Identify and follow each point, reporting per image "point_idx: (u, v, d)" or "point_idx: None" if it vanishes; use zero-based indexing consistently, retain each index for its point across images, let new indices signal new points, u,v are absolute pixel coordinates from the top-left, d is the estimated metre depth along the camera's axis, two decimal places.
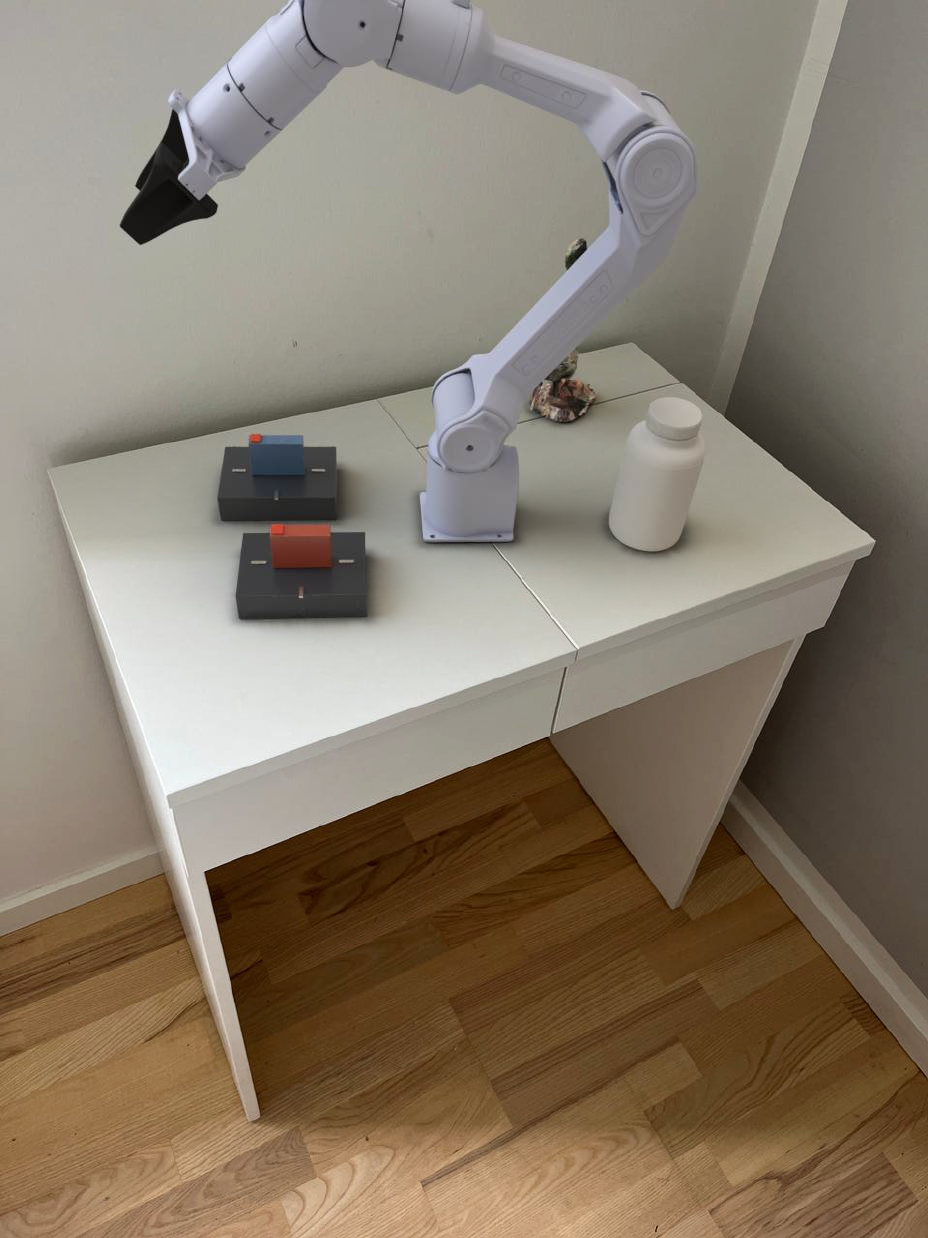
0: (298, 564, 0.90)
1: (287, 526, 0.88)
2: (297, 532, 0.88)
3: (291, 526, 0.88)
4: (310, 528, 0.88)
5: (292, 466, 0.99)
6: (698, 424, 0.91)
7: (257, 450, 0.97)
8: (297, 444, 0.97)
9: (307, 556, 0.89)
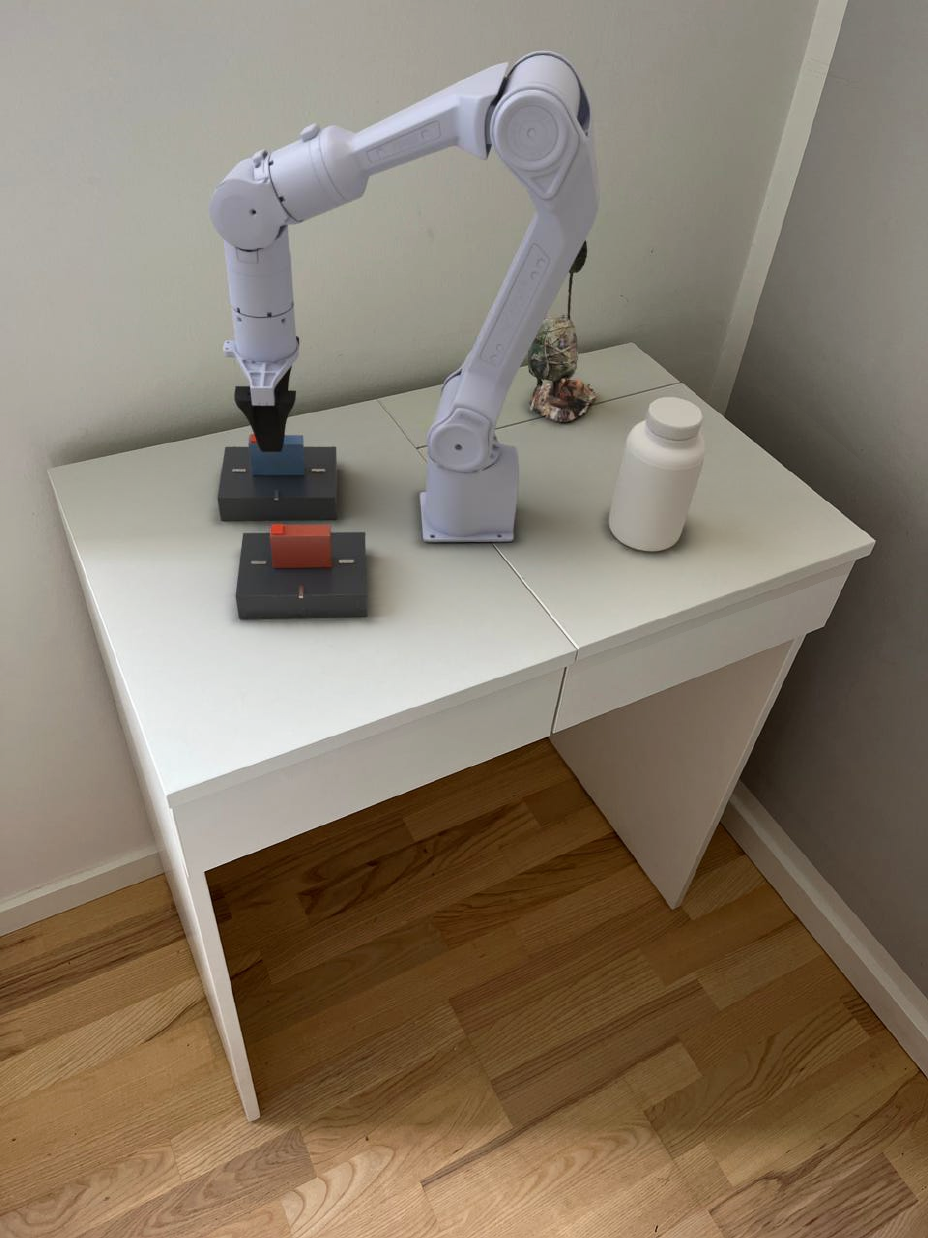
0: (298, 564, 0.90)
1: (287, 526, 0.88)
2: (297, 532, 0.88)
3: (291, 526, 0.88)
4: (310, 528, 0.88)
5: (292, 466, 0.99)
6: (698, 424, 0.91)
7: (257, 450, 0.97)
8: (297, 444, 0.97)
9: (307, 556, 0.89)
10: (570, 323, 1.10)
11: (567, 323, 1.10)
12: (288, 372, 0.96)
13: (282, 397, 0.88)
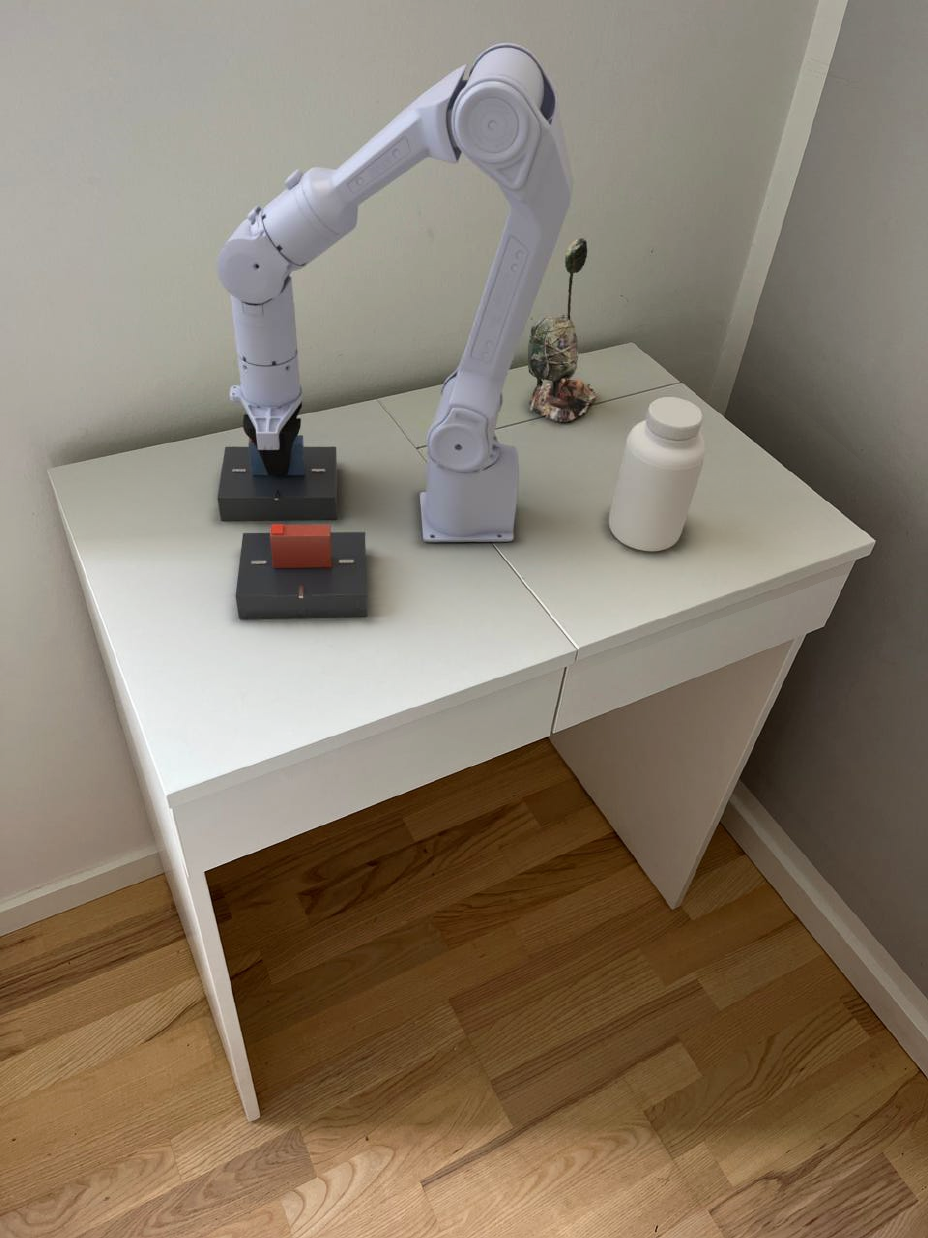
0: (298, 564, 0.90)
1: (287, 526, 0.88)
2: (297, 532, 0.88)
3: (291, 526, 0.88)
4: (310, 528, 0.88)
5: (292, 466, 0.99)
6: (698, 424, 0.91)
7: (257, 450, 0.97)
8: (297, 444, 0.97)
9: (307, 556, 0.89)
10: (570, 323, 1.10)
11: (567, 323, 1.10)
12: None
13: (288, 425, 0.94)
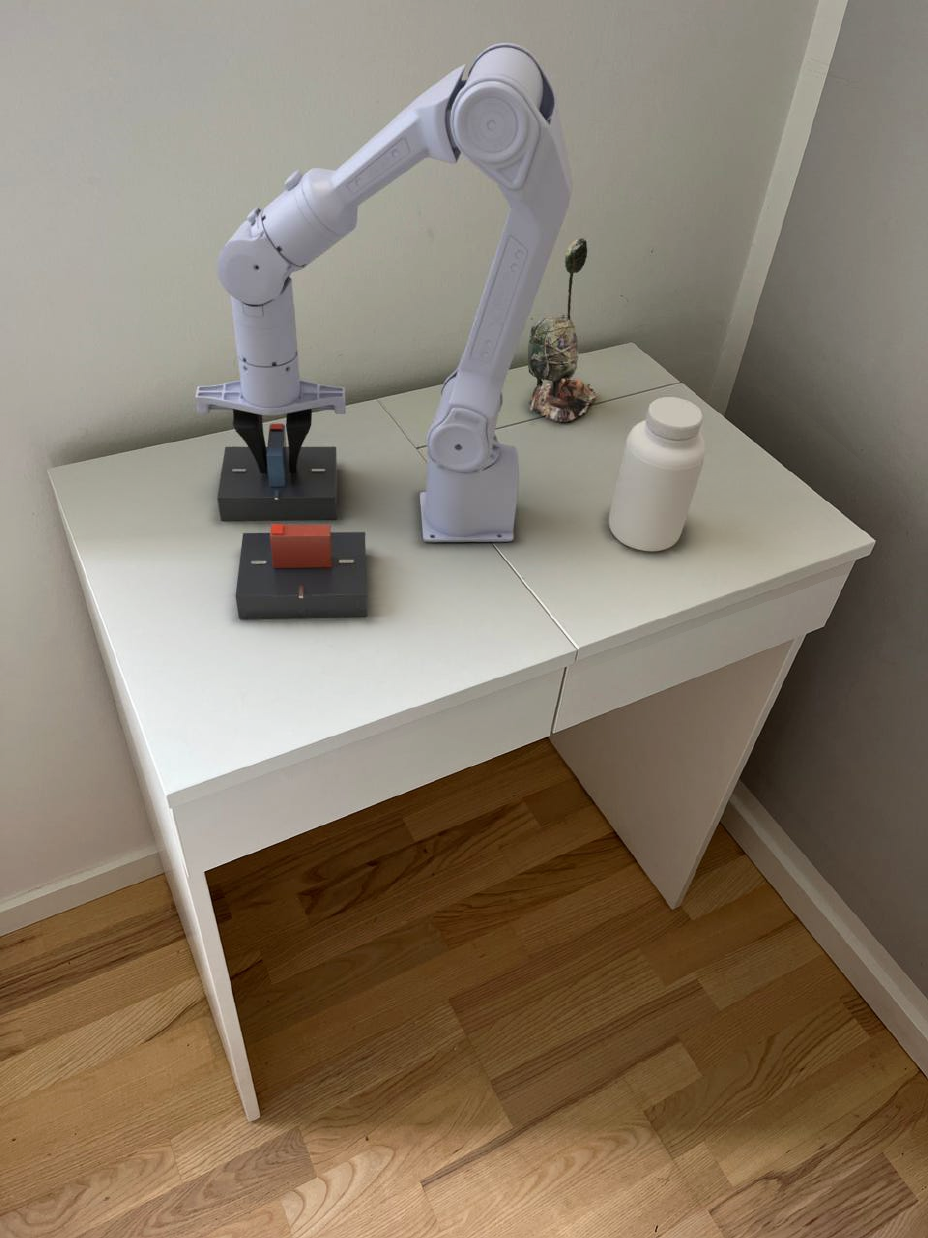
0: (298, 564, 0.90)
1: (287, 526, 0.88)
2: (297, 532, 0.88)
3: (291, 526, 0.88)
4: (310, 528, 0.88)
5: None
6: (698, 424, 0.91)
7: None
8: None
9: (307, 556, 0.89)
10: (570, 323, 1.10)
11: (567, 323, 1.10)
12: None
13: (243, 420, 0.94)
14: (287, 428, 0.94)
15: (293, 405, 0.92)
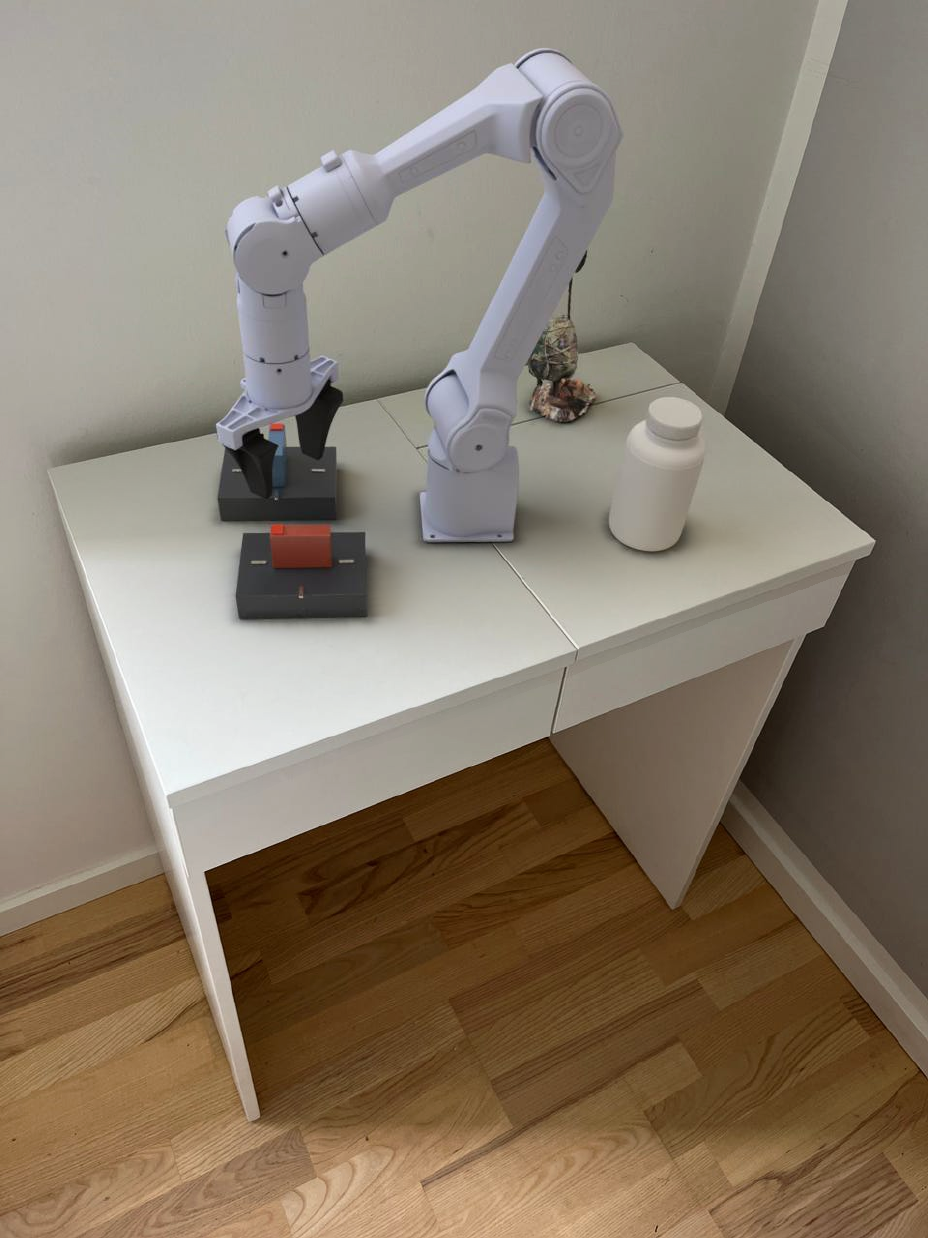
0: (298, 564, 0.90)
1: (287, 526, 0.88)
2: (297, 532, 0.88)
3: (291, 526, 0.88)
4: (310, 528, 0.88)
5: None
6: (698, 424, 0.91)
7: None
8: None
9: (307, 556, 0.89)
10: (570, 323, 1.10)
11: (567, 323, 1.10)
12: (322, 426, 0.90)
13: (257, 446, 0.83)
14: (332, 406, 0.88)
15: (316, 389, 0.86)
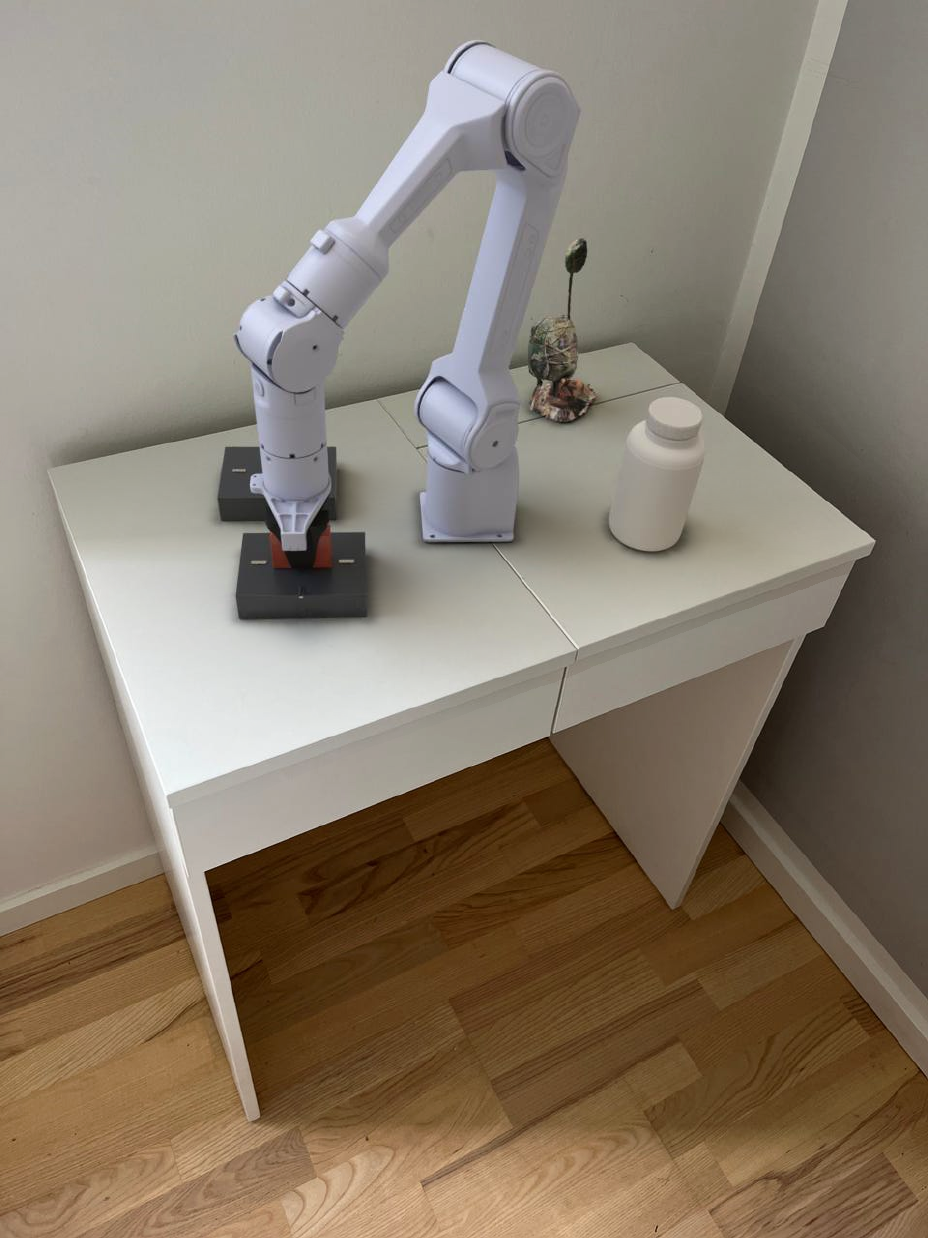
0: None
1: None
2: None
3: None
4: None
5: None
6: (698, 424, 0.91)
7: None
8: None
9: None
10: (570, 323, 1.10)
11: (567, 323, 1.10)
12: None
13: (315, 518, 0.84)
14: None
15: None
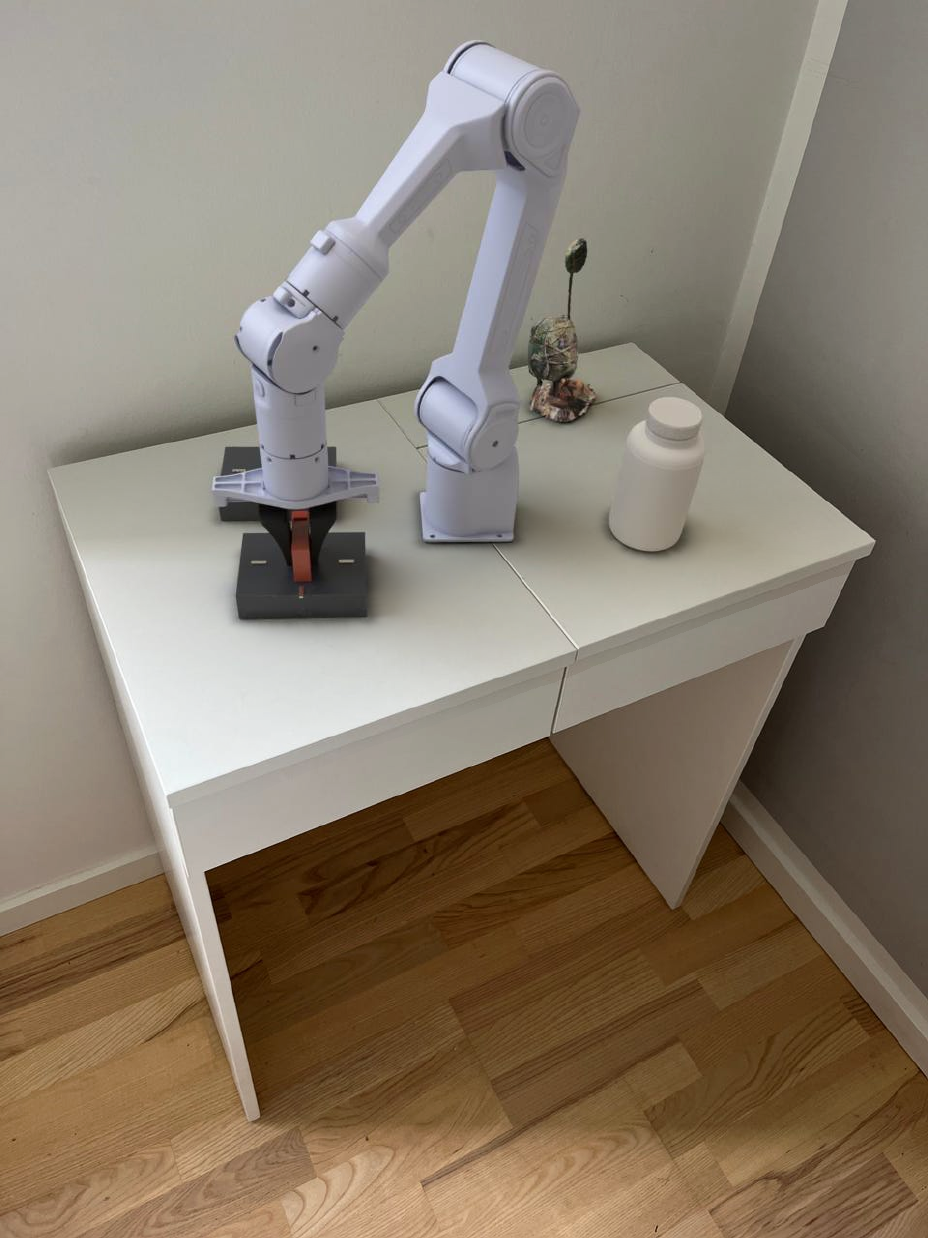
0: None
1: (305, 521, 0.89)
2: (297, 528, 0.88)
3: (306, 524, 0.89)
4: (303, 536, 0.87)
5: None
6: (698, 424, 0.91)
7: None
8: None
9: None
10: (570, 323, 1.10)
11: (567, 323, 1.10)
12: (310, 536, 0.86)
13: (269, 513, 0.84)
14: (310, 521, 0.84)
15: (322, 497, 0.83)
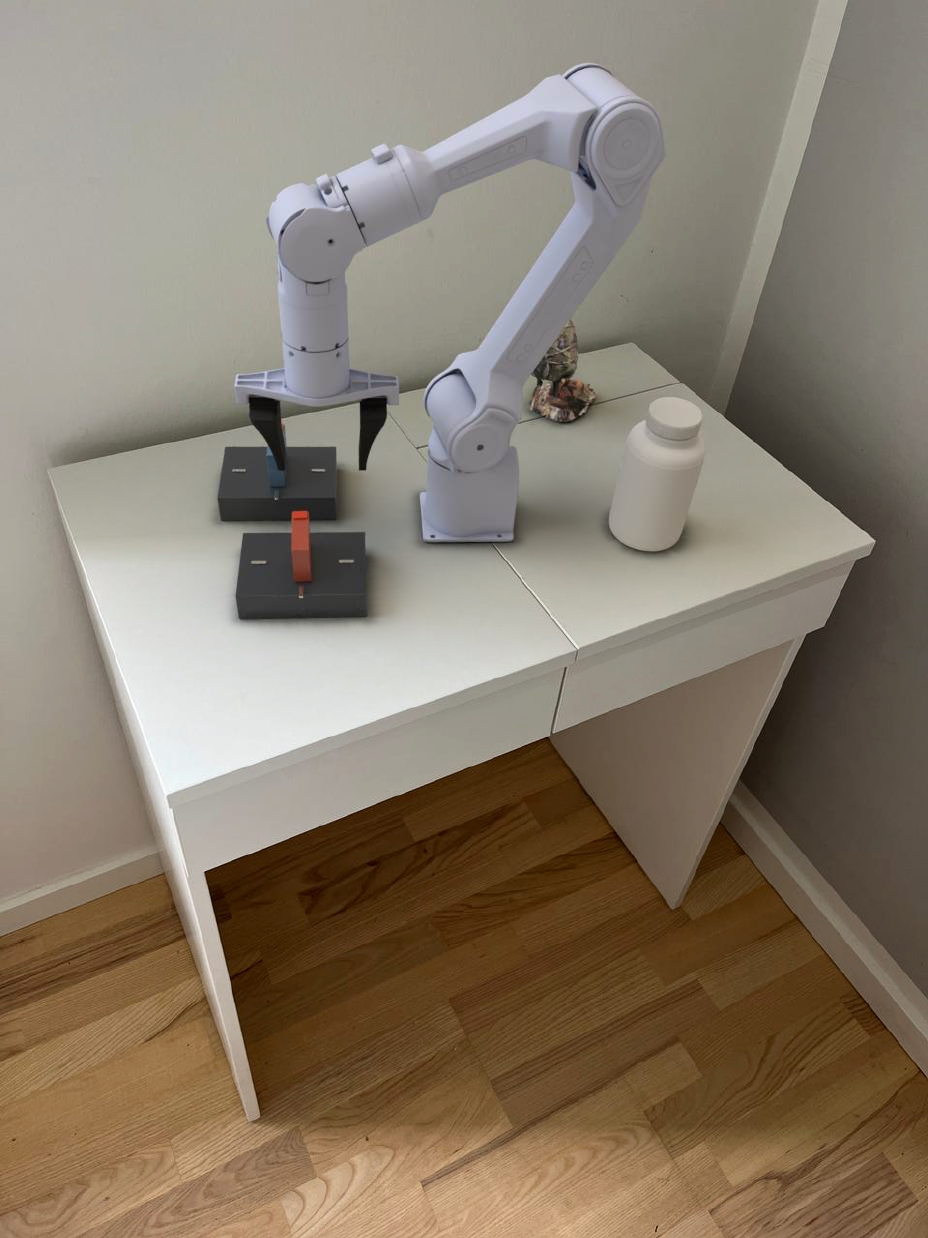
0: None
1: (305, 521, 0.89)
2: (297, 528, 0.88)
3: (306, 524, 0.89)
4: (303, 536, 0.87)
5: None
6: (698, 424, 0.91)
7: None
8: None
9: None
10: (570, 323, 1.10)
11: (567, 323, 1.10)
12: (360, 438, 0.88)
13: (260, 412, 0.85)
14: (361, 421, 0.85)
15: (342, 395, 0.83)
